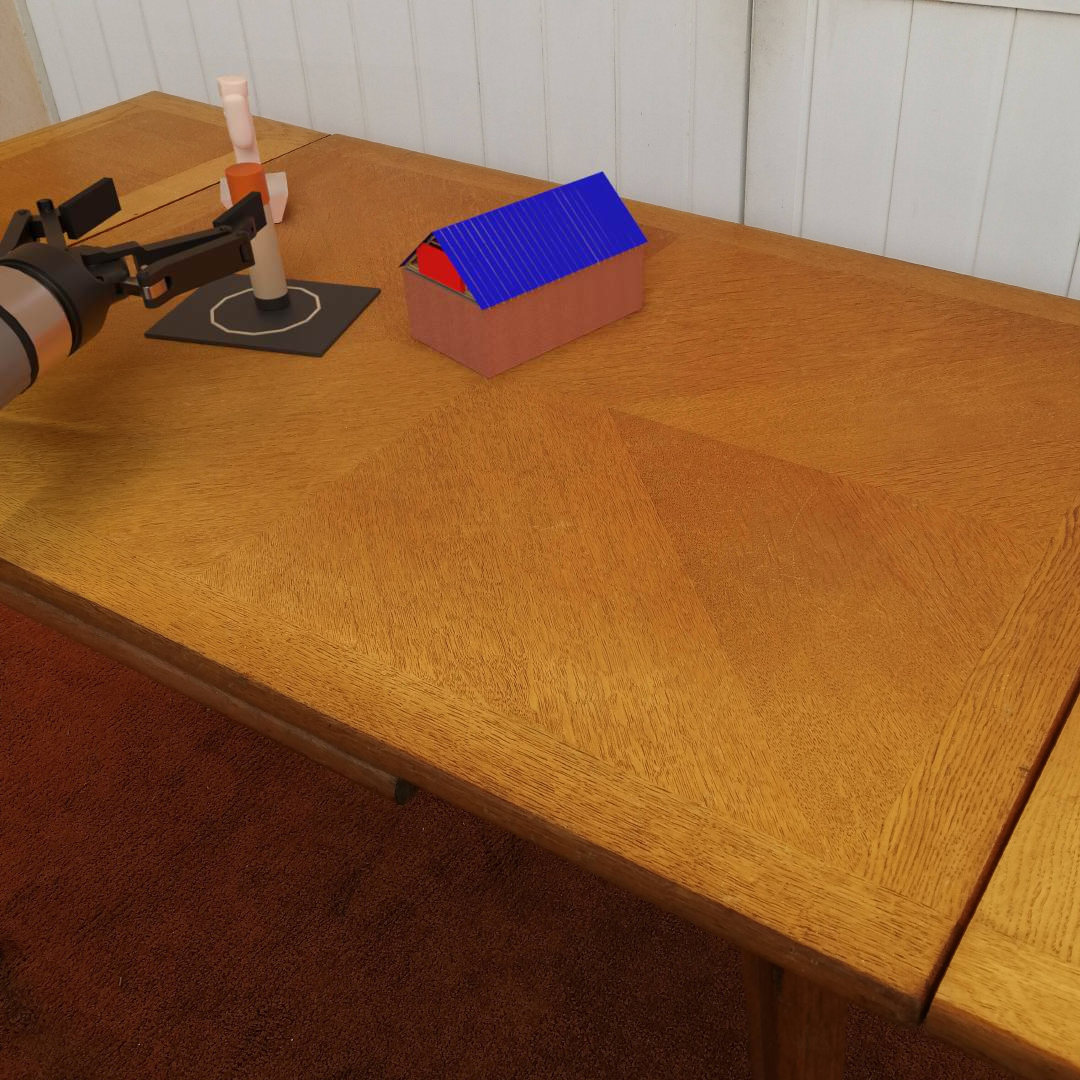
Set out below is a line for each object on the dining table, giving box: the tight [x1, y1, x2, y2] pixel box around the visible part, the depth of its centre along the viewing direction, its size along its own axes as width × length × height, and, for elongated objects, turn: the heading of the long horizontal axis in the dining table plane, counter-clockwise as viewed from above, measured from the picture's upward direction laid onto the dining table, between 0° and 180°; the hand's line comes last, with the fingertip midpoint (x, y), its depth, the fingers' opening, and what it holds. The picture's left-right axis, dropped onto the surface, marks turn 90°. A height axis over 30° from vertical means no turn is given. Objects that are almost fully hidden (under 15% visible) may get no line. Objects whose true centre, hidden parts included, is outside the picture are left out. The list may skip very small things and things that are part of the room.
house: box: [397, 170, 649, 379], centre depth 102 cm, size 12×20×12 cm, turn 134°
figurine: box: [216, 75, 289, 223], centre depth 122 cm, size 7×9×15 cm
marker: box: [224, 162, 290, 311], centre depth 105 cm, size 3×3×13 cm
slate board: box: [143, 273, 382, 358], centre depth 108 cm, size 18×14×1 cm
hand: (185, 200), depth 93 cm, fingers open, 13 cm apart
